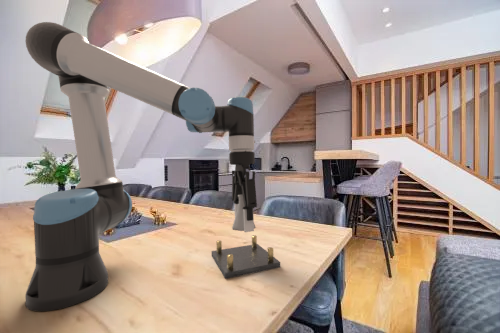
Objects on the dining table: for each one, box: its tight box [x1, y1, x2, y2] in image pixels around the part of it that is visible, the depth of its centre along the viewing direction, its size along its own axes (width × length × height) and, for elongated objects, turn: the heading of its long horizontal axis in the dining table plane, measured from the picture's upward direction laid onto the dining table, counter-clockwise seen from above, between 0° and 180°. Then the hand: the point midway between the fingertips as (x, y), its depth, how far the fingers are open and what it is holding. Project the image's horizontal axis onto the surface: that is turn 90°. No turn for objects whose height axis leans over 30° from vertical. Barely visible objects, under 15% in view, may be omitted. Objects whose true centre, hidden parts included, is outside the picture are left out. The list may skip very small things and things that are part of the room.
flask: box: [231, 194, 257, 232], centre depth 69 cm, size 7×7×10 cm
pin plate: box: [211, 235, 281, 280], centre depth 69 cm, size 16×16×5 cm
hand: (244, 227), depth 69 cm, fingers closed on flask, 7 cm apart
